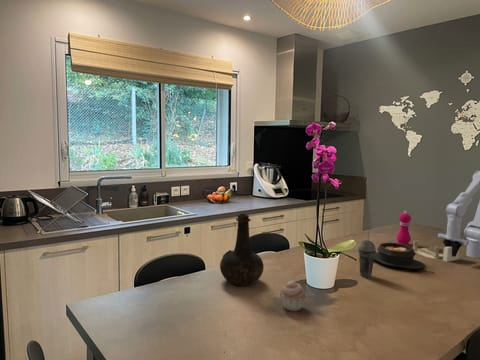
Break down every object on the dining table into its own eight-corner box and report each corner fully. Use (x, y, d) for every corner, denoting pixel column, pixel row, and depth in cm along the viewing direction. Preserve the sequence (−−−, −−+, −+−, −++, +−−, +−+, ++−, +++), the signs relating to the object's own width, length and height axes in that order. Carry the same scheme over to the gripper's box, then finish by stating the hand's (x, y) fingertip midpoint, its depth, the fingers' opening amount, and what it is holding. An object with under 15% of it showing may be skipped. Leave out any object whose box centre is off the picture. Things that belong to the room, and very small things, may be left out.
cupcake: (311, 310, 126) (313, 282, 125) (290, 316, 122) (291, 287, 121) (294, 299, 134) (295, 273, 133) (273, 304, 130) (274, 277, 129)
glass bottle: (234, 270, 163) (235, 208, 159) (270, 279, 153) (272, 213, 150) (210, 283, 147) (211, 215, 144) (249, 294, 138) (251, 221, 135)
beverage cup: (355, 277, 158) (357, 231, 155) (358, 271, 164) (360, 227, 162) (373, 280, 154) (376, 233, 152) (375, 274, 161) (378, 230, 158)
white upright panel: (442, 261, 178) (444, 247, 178) (454, 258, 182) (455, 245, 182) (446, 262, 177) (447, 248, 176) (458, 260, 181) (459, 246, 180)
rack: (426, 249, 200) (427, 238, 199) (451, 256, 188) (452, 245, 187) (407, 252, 193) (408, 241, 193) (431, 260, 181) (432, 248, 180)
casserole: (361, 261, 178) (362, 244, 177) (378, 253, 191) (379, 237, 190) (415, 276, 160) (416, 257, 159) (429, 266, 173) (431, 248, 172)
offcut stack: (432, 249, 196) (432, 245, 196) (442, 252, 191) (443, 248, 190) (426, 250, 194) (427, 246, 194) (437, 253, 189) (437, 249, 188)
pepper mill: (411, 248, 200) (414, 212, 198) (397, 247, 202) (400, 211, 200) (408, 244, 208) (410, 210, 205) (394, 243, 209) (397, 209, 207)
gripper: (434, 225, 183) (432, 252, 184) (463, 232, 170) (460, 261, 171) (443, 224, 186) (441, 250, 187) (472, 231, 173) (470, 259, 174)
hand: (451, 255), depth 179 cm, fingers closed on white upright panel, 2 cm apart
